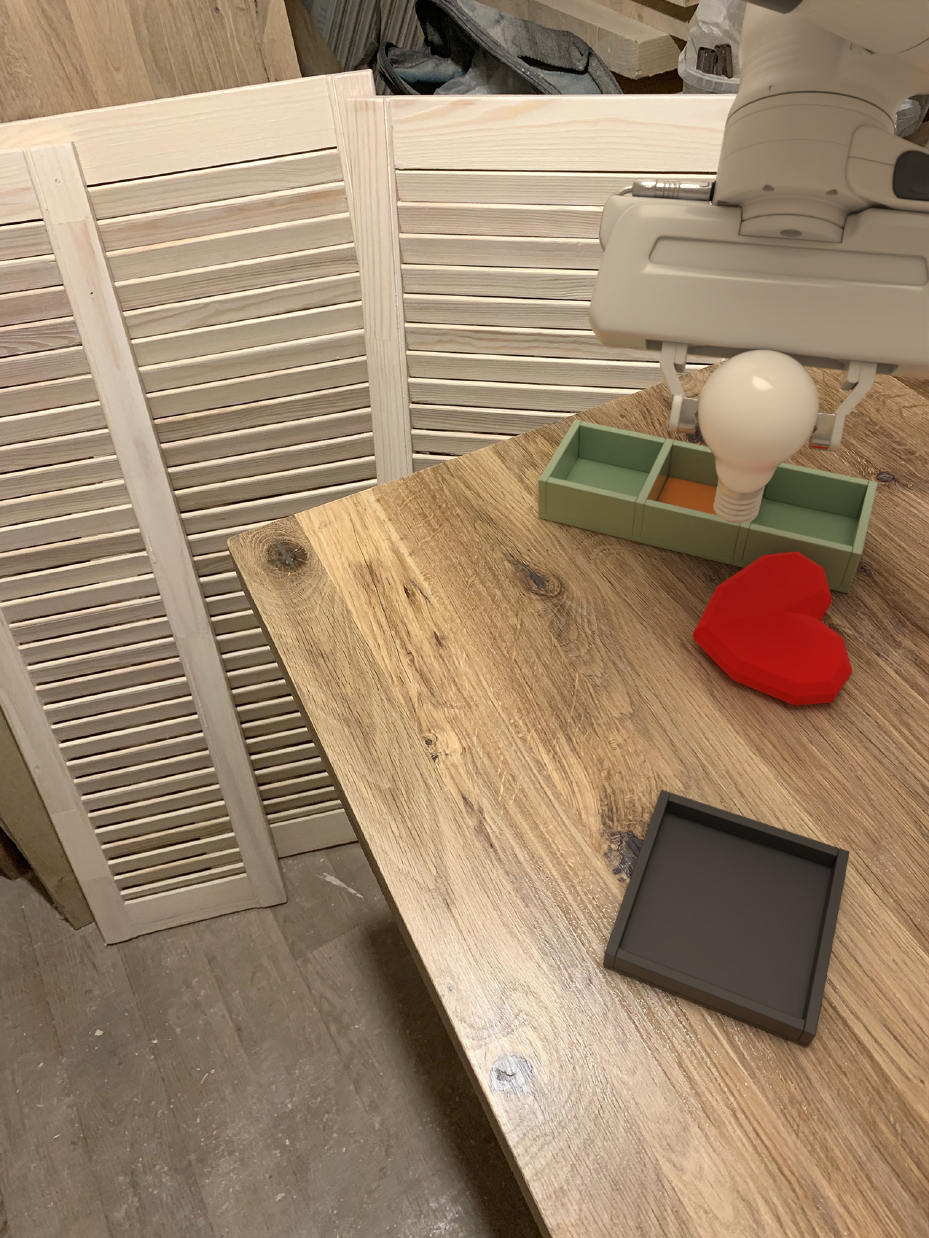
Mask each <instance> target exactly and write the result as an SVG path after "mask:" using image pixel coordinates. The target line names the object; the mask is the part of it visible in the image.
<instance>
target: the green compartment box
mask: <svg viewBox="0 0 929 1238" xmlns="http://www.w3.org/2000/svg"><path fill="white" fill-rule="evenodd" d="M718 479H719V478H718V475H717V472H716V466H715V457H714V455H713V453H712V452H711V450H710V449H709V447H708V446H707V445H701V444H696V443H691V442H687V441H682V440H676V439H673V438H668V437H662V436H657V435H652V434H647V433H642V432H637V431H634V430H633V431H632V430H628V429H625V428H624V429H623V428H618V427H613V426H610V425H603V424H599V423H594V422H590V421H584V420H581V419H574V420H573V422H572V423H571V425H570V427H569V428H568V430H567V431H566V433H565V435H564V436H563V438H562V440H561V442H560V443H559V445H558V447H557V448H556V450H555V452H554V453H553V455H552V457H551V458H550V460H549V462H548V464H547V465H546V467H545V468H544V470H543V472H542V474H541V475H540V477H539V479H538V519H542V520H546V521H550V522H554V523H557V524H562V525H566V526H571V527H575V528H579V529H583V530H587V531H589V532H590V531H591V532H595V533H600V534H602V535H608V536H611V537H615V538H618V539H624V540H626V541H627V540H628V541H631V542H636V543H639V544H643V545H648V546H652V547H656V548H661V549H664V550H669V551H672V552H677V553H681V554H685V555H689V556H693V557H697V558H701V559H705V560H708V561H713V562H718V563H721V564H725V565H730V566H733V567H738V568H742V569H744V568H745V567H747V566H748V565H750V564H751V563H752V562H754V561H755V560H757V559H758V558H760V557H761V556H763V555H769V554H779V553H788V552H799V553H801V554H802V555H804V556H806V557H807V558H809V559H810V560H812V561H814V562H815V563H817V564H818V565H820V566H822V567H823V568H824V571H825V574H826V578H827V582H828V585H829V589H830V591H831V590H832V591H836V592H840V593H844V594H849V592H850V590H851V587H852V585H853V581H854V578H855V576H856V572H857V570H858V567H859V564H860V562H861V559H862V556H863V552H864V548H865V543H866V540H867V539H866V538H867V534H868V530H869V525H870V522H871V517H872V512H873V508H874V502H875V499H876V495H877V490H878V486H879V482H878V481H875V480H869V479H865V478H860V477H855V476H851V475H846V474H840V473H836V472H831V471H826V470H821V469H817V468H813V467H806V466H802V465H799V464H793V463H788V462H783V463H782V464H780V465H779V466H778V467H777V469H776V471H775V473H774V475H773V476H772V478H771V480H770V481H769V482H768V483H767V484H766V485H765V488H764V492H763V495H762V500H761V504H760V509H759V512H758V515H757V517H756V518H755V519H753V520H752V521H749V522H746V523H731V522H728V521H725V520H723V519H721V518H720V517H719V516H718V515H717V514H716V513H715V511H714V508H713V505H714V502H715V496H716V491H717V486H718Z"/></svg>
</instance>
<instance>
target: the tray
mask: <svg viewBox="0 0 929 1238" xmlns="http://www.w3.org/2000/svg"><path fill="white" fill-rule="evenodd" d="M849 857H850V851H849V850H846V849H844V848H839V847H838V846H834V845H832V844H828V843H825V842H822V841H819V840H817V839H813V838H810V837H808V836H804V835H801V834H798V833H794V832H792V831H789V830H786V829H782V828H780V827H776V826H773V825H771V824H767V823H765V822H762V821H759V820H756V819H752V818H749V817H747V816H743V815H740V814H737V813H734V812H731V811H728V810H724V809H721V808H719V807H715V806H713V805H710V804H706V803H703V802H700V801H697V800H694V799H691V798H689V797H685V796H682V795H679V794H676V793H673V792H670V791H668V790H664V789H661V790H660V791H659V795H658V798H657V800H656V804H655V806H654V809H653V812H652V815H651V817H650V821H649V824H648V826H647V830H646V832H645V835H644V838H643V841H642V844H641V847H640V849H639V852H638V855H637V858H636V860H635V863H634V867H633V869H632V873H631V875H630V877H629V881H628V885H627V887H626V890H625V893H624V896H623V898H622V902H621V904H620V907H619V909H618V913H617V915H616V918H615V921H614V924H613V928H612V930H611V932H610V936H609V938H608V942H607V943H606V944H607V945H606V947H605V950H604V956H603V963H602V967H603V968H605V969H608V970H610V971H613V972H616V973H618V974H621V975H623V976H625V977H628V978H631V979H633V980H635V981H638V982H640V983H643V984H646V985H649V986H651V987H652V988H656V989H659V990H661V991H662V992H663V991H664V992H666V993H668V994H670V995H673V996H676V997H679V998H681V999H683V1000H686V1001H689V1002H691V1003H694V1004H696V1005H699V1006H701V1007H704V1008H706V1009H708V1010H711V1011H713V1012H716V1013H719V1014H721V1015H724V1016H726V1017H728V1018H731V1019H734V1020H737V1021H739V1022H741V1023H744V1024H746V1025H750V1026H751V1027H754V1028H757V1029H759V1030H762V1031H764V1032H766V1033H769V1034H771V1035H774V1036H776V1037H778V1038H781V1039H784V1040H787V1041H788V1042H791V1043H794V1044H797V1045H799V1046H802V1047H804V1048H809V1046H810V1045H811V1043H812V1042H813V1040H814V1039H815V1038H816V1036H817V1030H818V1024H819V1020H820V1014H821V1009H822V1004H823V997H824V994H825V993H824V992H825V989H826V988H825V987H826V982H827V976H828V972H829V971H828V970H829V966H830V961H831V960H830V959H831V955H832V949H833V944H834V938H835V932H836V928H837V922H838V916H839V911H840V905H841V900H842V895H843V890H844V886H845V885H844V884H845V880H846V879H845V878H846V873H847V868H848V863H849Z"/></svg>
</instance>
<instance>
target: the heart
mask: <svg viewBox="0 0 929 1238" xmlns="http://www.w3.org/2000/svg"><path fill="white" fill-rule="evenodd" d="M832 599H833V598H832V594H831V589H829V585H828V582H827V578H826V574H825V571H824V568H823V567H822V566H820V565H818V564H817V563H815V562H814V561H812V560H810V559H809V558H807V557H806V556H804V555H802V554H801V553H799V552H788V553H779V554H769V555H763V556H761V557H760V558H758V559H757V560H755V561H754V562H752V563H751V564H750V565H748V566H747V567H745V568H742V569H741V570H739V571H738V572H736V573H735V574H734V575H732V576H730V577H729V578H728V579H726V580H725V581H723V582H722V583H720V584H718V585H717V586H716V588H715V590H714V591H713V593H712V595H711V598H710V600H709V601H708V603H707V605H706V607H705V609H704V611H703V613H702V615H701V617H700V619H699V621H698V623H697V625H696V627H695V628H694V631H693V632H692V634H691V637H692V639H693V641H694V642H695V643H696V644H697V645H698V646H699V648H701V649H702V650H703V651H704V652H705V653H706V654H707V655H708V656H709V657H710V659H712V660H713V662H714V663H715V664H716V665H717V666H718V667H719V668H720V669H721V670H722V671H723V672H724V673H725V674H726V675H727V676H728V677H729V678H730V679H731V680H732V681H734V682H736V683H739V684H741V685H743V686H746V687H748V688H751V689H753V690H755V691H758V692H761V693H763V694H765V695H768V696H770V697H773V698H775V699H778V700H780V701H782V702H784V703H787V704H790V705H792V706H805V705H817V704H828V703H829V704H830V703H833V702H834V700H835V699H836V698H837V696H838V695H839V693H840V692H841V691H842V689H843V688H844V686H845V685H846V683H847V682H848V680H849V679H850V677H851V675H852V674H853V668H852V664H851V660H850V656H849V654H848V653H849V652H848V650H847V647H846V644H845V640H844V637H842V636H841V635H840V634H838V633H837V632H836V631H835V630H833V629H832V628H831V627H829V626H828V625H827V624H825V623H824V622H823V621H822V620H823V619H824V616H825V615H826V613H827V611H828V610H829V608H830V606H831V605H832V603H833V600H832Z"/></svg>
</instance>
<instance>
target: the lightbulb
mask: <svg viewBox="0 0 929 1238" xmlns="http://www.w3.org/2000/svg"><path fill="white" fill-rule="evenodd" d="M819 397H820V396H819V392H818V388H817V386H816V383H815V381H814V379H813V377H812V375H811V374H810V372H809V370H807V368H806V367H804V366H803V365H802V364H800V363H799V362H798V361H797V360H795V359H794V358H792V357H790V356H788V355H786V354H784V353H781V352H778V351H773V350H751V351H747V352H743V353H740V354H738V355H735V356H733V357H731V358H730V359H726V360H725V361H724V362H722V363H721V364H720V365H719V366H718V367H716V369H714V370H713V372H712V373H711V374H710V375H709V377H708V379H706V382H705V383H704V385H703V388H702V390H701V392H700V394H699V398H698V399H699V403H698V416H697V423H698V428H699V430H700V434H701V436H702V439H703V440H704V443H705V444H706V447H709V449H710V450H711V452H712V453H713V455H714V457H715V466H716V472H717V475H718V478H719V479H718V486H717V491H716V496H715V502H714V505H713V508H714V511H715V513H716V514H717V515H718V516H719V517H720V518H721V519H723V520H725V521H728V522H731V523H746V522H749V521H752V520H753V519H755V518H756V517H757V515H758V512H759V509H760V504H761V500H762V495H763V492H764V488H765V485H766V484H767V483H768V482H769V481H770V480H771V478H772V476H773V475H774V473H775V471H776V469H777V467H778V466H779V465H780V464H782V463H786V462H787V461H788V460H789V459H791V458H792V457H793V456H794V455H796V454H797V453H798V452H799V451H800V450H801V449H802V448H803V447H804V446H805V445H806V444H807V442H808V441H809V438H810V437H811V436H812V434H813V433H812V432H813V430H814V428H815V425H816V422H817V418H818V413H820V412H819V411H820V398H819Z"/></svg>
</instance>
